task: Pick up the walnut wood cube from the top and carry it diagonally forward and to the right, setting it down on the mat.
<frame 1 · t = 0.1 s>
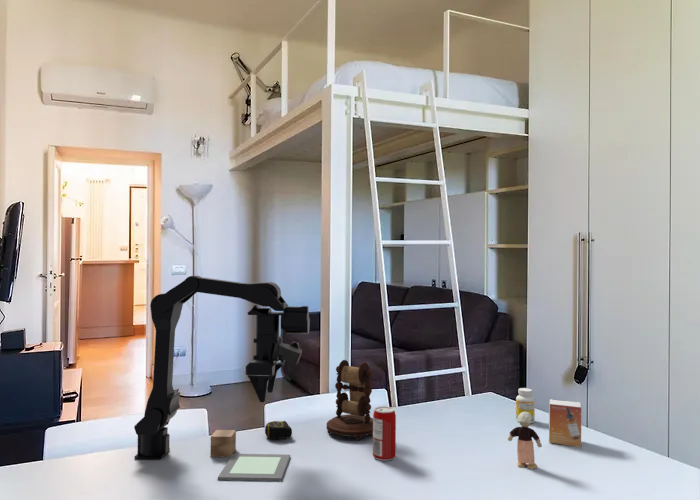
hand: (266, 397, 129), 15 cm above the table, fingers open, 9 cm apart
tape measure: (279, 437, 144), on the table
scroll: (352, 433, 147), on the table
grandmother figurine: (524, 466, 124), on the table
cube: (223, 453, 131), on the table
small box: (564, 443, 141), on the table
supplement bottle: (525, 422, 159), on the table
soda can: (384, 457, 129), on the table
mat: (256, 467, 122), on the table
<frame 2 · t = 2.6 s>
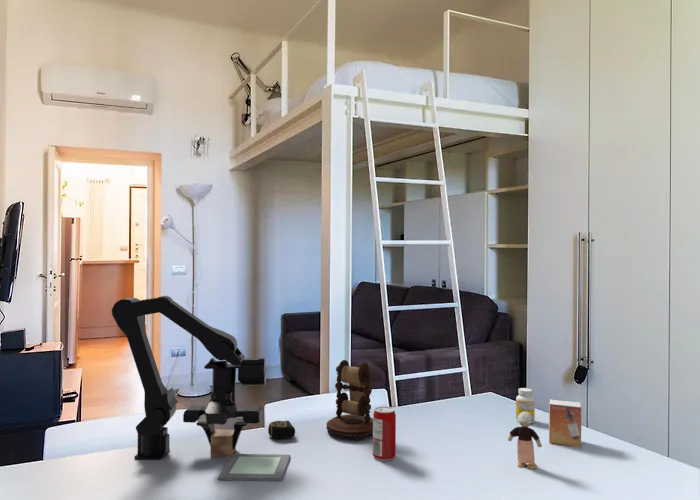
hand: (223, 448, 131), 1 cm above the table, fingers closed on cube, 5 cm apart
cube: (223, 453, 131), on the table, touching gripper
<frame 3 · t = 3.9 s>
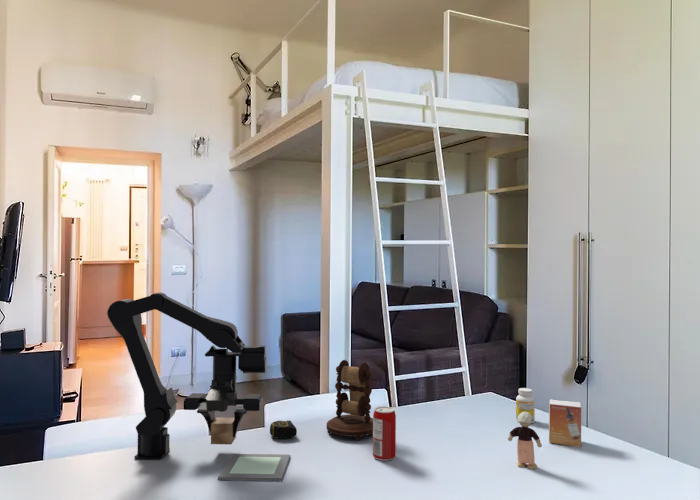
hand: (223, 436, 131), 4 cm above the table, fingers closed on cube, 5 cm apart
cube: (223, 440, 131), point 3 cm above the table, touching gripper
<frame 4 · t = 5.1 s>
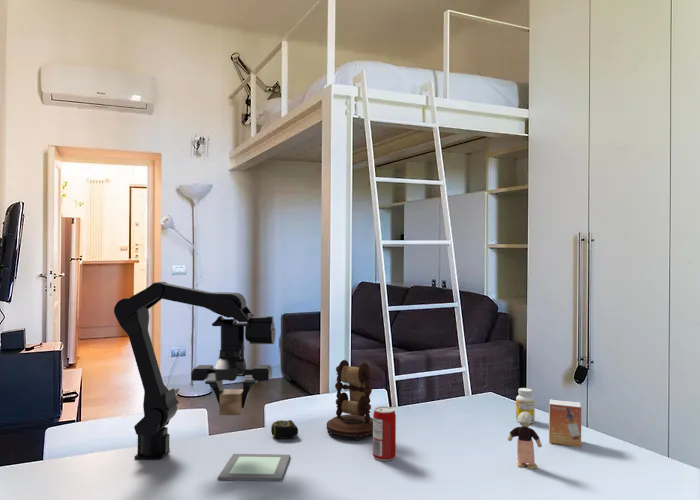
hand: (232, 407, 129), 12 cm above the table, fingers closed on cube, 5 cm apart
cube: (232, 412, 129), point 11 cm above the table, touching gripper
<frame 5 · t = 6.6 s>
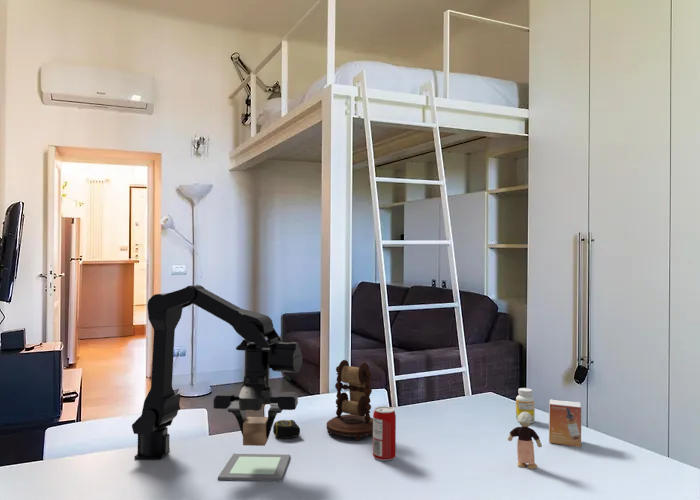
hand: (256, 437, 122), 7 cm above the table, fingers closed on cube, 5 cm apart
cube: (255, 441, 122), point 6 cm above the table, touching gripper
when the fingers open (2 cm above the table, at t = 7.8 s): cube stays where it is, resting on mat.
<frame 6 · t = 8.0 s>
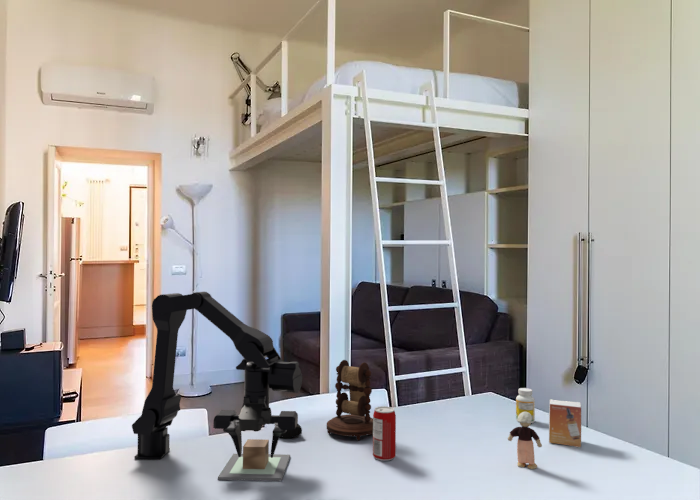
hand: (256, 456, 122), 2 cm above the table, fingers open, 7 cm apart
cube: (255, 464, 122), point 1 cm above the table, touching mat
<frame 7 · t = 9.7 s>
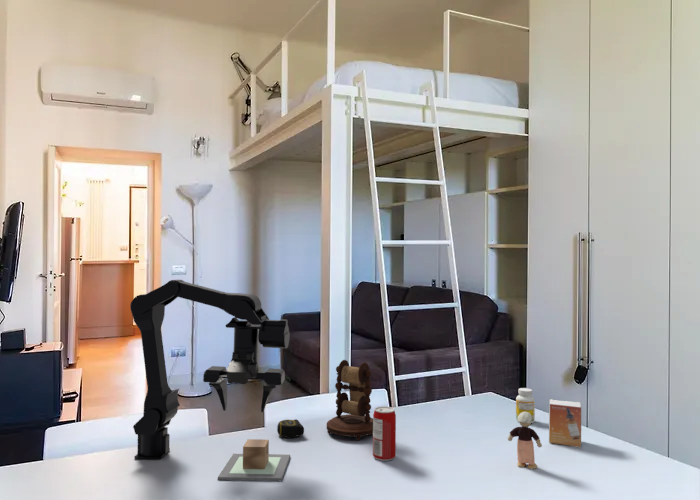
hand: (243, 411, 127), 12 cm above the table, fingers open, 9 cm apart
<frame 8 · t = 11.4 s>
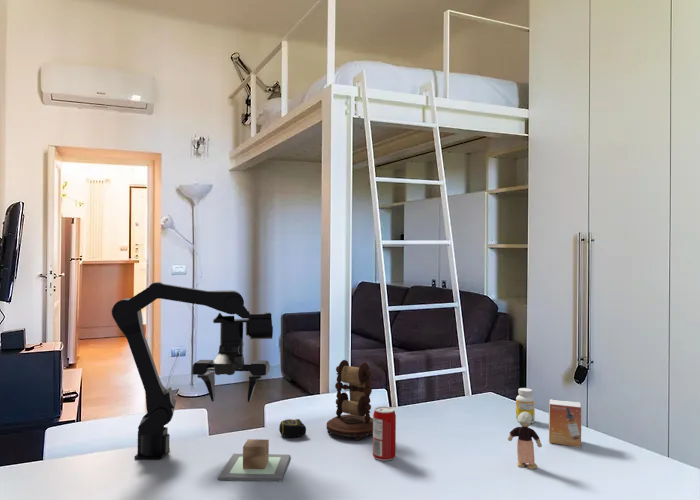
hand: (231, 401, 134), 12 cm above the table, fingers open, 9 cm apart
at the end: cube inside the target area (0.1 cm from its centre), point 0.7 cm above the table; the gripper is holding nothing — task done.
